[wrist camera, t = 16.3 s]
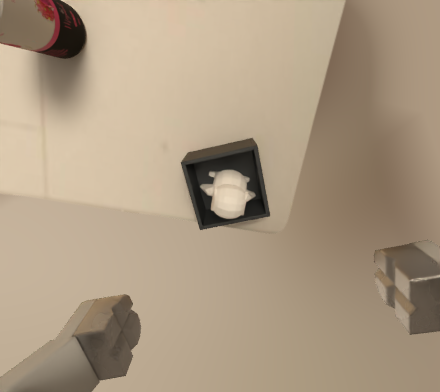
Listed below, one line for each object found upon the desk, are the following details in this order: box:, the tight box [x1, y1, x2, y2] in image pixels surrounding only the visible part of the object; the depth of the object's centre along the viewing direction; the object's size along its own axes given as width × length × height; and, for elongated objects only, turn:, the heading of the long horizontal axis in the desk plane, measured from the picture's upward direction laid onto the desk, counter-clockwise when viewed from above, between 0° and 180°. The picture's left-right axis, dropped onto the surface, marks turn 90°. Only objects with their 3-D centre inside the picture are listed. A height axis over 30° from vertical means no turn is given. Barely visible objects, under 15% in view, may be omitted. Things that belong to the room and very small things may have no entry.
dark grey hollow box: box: [181, 138, 270, 230], centre depth 39 cm, size 10×10×6 cm
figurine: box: [200, 170, 256, 219], centre depth 36 cm, size 8×5×12 cm, turn 81°
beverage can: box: [0, 0, 85, 58], centre depth 29 cm, size 7×7×15 cm
